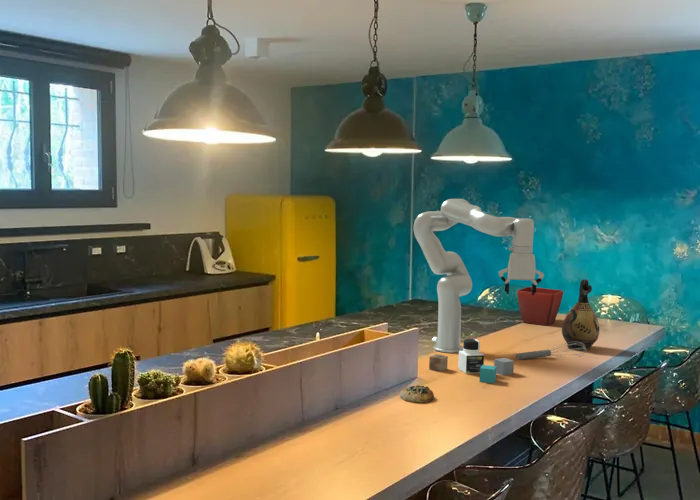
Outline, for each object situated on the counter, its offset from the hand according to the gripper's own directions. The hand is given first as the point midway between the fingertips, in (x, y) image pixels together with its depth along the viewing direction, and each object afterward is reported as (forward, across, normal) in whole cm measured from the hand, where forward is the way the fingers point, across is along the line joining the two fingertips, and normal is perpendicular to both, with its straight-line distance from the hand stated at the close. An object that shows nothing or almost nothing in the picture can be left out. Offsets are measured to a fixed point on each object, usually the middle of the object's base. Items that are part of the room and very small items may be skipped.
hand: (520, 294), depth 266 cm
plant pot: (+28, +19, +88) cm, 95 cm away
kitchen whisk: (+28, +15, +12) cm, 34 cm away
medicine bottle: (+28, -18, -16) cm, 37 cm away
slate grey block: (+28, -6, -16) cm, 32 cm away
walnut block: (+28, -30, -16) cm, 44 cm away
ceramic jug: (+28, +30, +34) cm, 53 cm away
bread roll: (+28, -36, -54) cm, 70 cm away
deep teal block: (+28, -12, -28) cm, 41 cm away
